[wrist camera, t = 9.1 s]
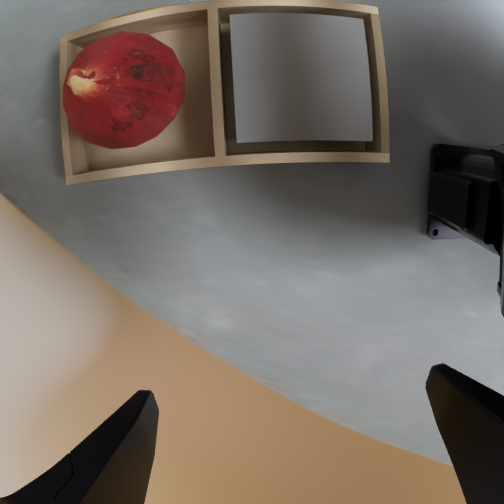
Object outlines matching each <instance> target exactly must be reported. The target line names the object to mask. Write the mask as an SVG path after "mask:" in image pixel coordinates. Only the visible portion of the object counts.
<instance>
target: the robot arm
mask: <svg viewBox="0 0 504 504" xmlns="http://www.w3.org/2000/svg"><path fill="white" fill-rule="evenodd" d="M438 148H439V149H440V153H439V154H438V153H437V149H438ZM490 150H491V151H490ZM490 150H484V149H477V148H470V147H463V146H455V145H446V144H434V145H433V146H432V148H431V174H430V176H429V197H428V224H427V235H428V236H429V237H430V238H432V239H452V238H469V239H471V240H473V241H474V242H476V243H478V244H480V245H481V246H483V247H485V248H486V249H488V250H490V251H491V252H493V253H495V254H497V255H498V256H500V277H499V282H498V288H497V291H498V293H499V295H500V297H501V301H500V304H501V312H502V315H503V317H504V144H501V145H498V146H494V147H490ZM434 229H435V233H434V234H433V233H432V232H433V230H434ZM426 391H427V395H428V398H429V401H430V404H431V407H432V411H433V414H434V417H435V421H436V424H437V426H438V429H439V431H440V434H441V436H442V439H443V441H444V444H445V446H446V448H447V451H448V454H449V456H450V459H451V461H452V464H453V466H454V469H455V472H456V474H457V477H458V480H459V483H460V486H461V488H462V491H463V494H464V497H465V500H466V503H467V504H504V396H503V395H501V394H499V393H498V392H496V391H494V390H492V389H490V388H488V387H486V386H485V385H483V384H481V383H479V382H477V381H475V380H473V379H472V378H470V377H468V376H466V375H464V374H462V373H460V372H459V371H457V370H455V369H453V368H451V367H449V366H447V365H446V364H443V363H441V364H437V365H434V366H432V368H431V370H430V373H429V376H428V379H427V381H426ZM158 417H159V410H158V406H157V403H156V400H155V397H154V394H153V393H152V391H150V390H139V391H137V392H136V393H135V394H134V395H133V396H132V397H131V398H130V399H129V400H127V401H126V402H125V403H124V404H123V405H122V406H121V407H120V408H119V409H117V410H116V411H115V412H114V413H113V414H112V415H111V416H110V417H109V418H107V419H106V420H105V421H104V422H103V423H102V424H101V425H100V426H99V427H97V429H95V430H94V431H93V432H92V433H91V434H90V435H89V436H87V437H86V438H85V439H84V440H83V441H82V442H81V443H80V444H78V445H77V446H76V447H75V448H74V449H73V450H72V451H71V452H70V454H69V453H68V454H67V455H66V456H65V457H63V458H62V459H61V460H60V461H59V462H58V463H56V464H55V465H54V466H53V467H52V468H50V469H49V470H47V471H46V472H45V473H43V474H42V475H40V476H39V477H38V478H36V479H35V480H33V481H32V482H30V483H29V484H27V485H26V486H24V487H23V488H21V489H20V490H18V491H16V492H15V493H13V494H11V495H9V496H6V497H3V498H0V504H144V502H145V497H146V493H147V488H148V483H149V478H150V474H151V469H152V464H153V460H154V455H155V445H156V435H157V426H158Z"/></svg>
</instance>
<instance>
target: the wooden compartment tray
mask: <svg viewBox="0 0 504 504" xmlns="http://www.w3.org/2000/svg"><path fill="white" fill-rule="evenodd" d="M121 31H126V32H136V33H143V34H149V35H151V36H152V37H154V38H156V39H157V40H159V41H161V42H162V43H164V44H165V45H167V46H169V47H170V48H172V49H173V51H174V53H175V54H176V56H177V58H178V60H179V62H180V64H181V66H182V68H183V70H184V73H185V98H184V100H183V102H182V104H181V106H180V108H179V110H178V113H177V115H176V117H175V119H174V120H173V121H172V122H171V123H170V124H169V125H168V126H167V127H166V128H165V129H164V130H163V131H162V132H161V133H160V134H159V135H158V136H157V137H155V138H153V139H151V140H149V141H147V142H145V143H143V144H141V145H138V146H136V147H130V148H121V149H108V148H104V147H101V146H98V145H94V144H91V143H89V142H87V141H86V140H85V139H84V138H83V137H82V136H81V135H80V134H79V133H77V132H76V131H75V130H74V129H73V128H72V126H71V124H70V122H69V119H68V117H67V115H66V112H65V110H64V107H63V85H64V81H65V78H66V75H67V71H68V69H69V67H70V66H71V64H72V63H73V61H74V59H75V58H76V56H77V55H78V54H79V52H80V51H81V50H83V49H84V48H86V47H87V46H89V45H90V44H92V43H93V42H94V41H96V40H97V39H99V38H101V37H105V36H108V35H111V34H114V33H118V32H121ZM59 95H60V122H61V137H62V149H63V159H64V168H65V176H66V184H67V186H68V185H73V184H79V183H85V182H91V181H97V180H104V179H111V178H118V177H125V176H132V175H140V174H148V173H156V172H165V171H174V170H184V169H195V168H206V167H219V166H233V165H249V164H269V163H297V162H381V163H390V136H389V109H388V92H387V78H386V67H385V57H384V48H383V40H382V33H381V26H380V19H379V13H378V7H374V6H368V5H362V4H355V3H347V2H339V1H329V0H218V1H207V2H199V3H191V4H184V5H177V6H171V7H170V5H168V6H163V7H158V8H152V9H148V10H143V11H139V12H134V13H130V14H126V15H122V16H118V17H114V18H111V19H107V20H104V21H100V23H99V24H95V25H92V26H89V27H86V28H83V29H80V30H77V31H74V32H71V33H69V34H66V35H63V36H61V42H60V68H59Z"/></svg>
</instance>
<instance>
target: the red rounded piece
mask: <svg viewBox="0 0 504 504" xmlns="http://www.w3.org/2000/svg"><path fill="white" fill-rule="evenodd" d="M184 98H185V73H184V70H183V68H182V66H181V64H180V62H179V60H178V58H177V56H176V54H175V53H174V51H173V49H172V48H170V47H169V46H167V45H165V44H164V43H162V42H161V41H159V40H157V39H156V38H154V37H152V36H151V35H149V34H143V33H136V32H126V31H121V32H118V33H114V34H111V35H108V36H105V37H101V38H99V39H97V40H96V41H94V42H93V43H92V44H90V45H89V46H87V47H86V48H84V49H83V50H81V51H80V52H79V54H78V55H77V56H76V58H75V59H74V61H73V63H72V64H71V66H70V67H69V69H68V71H67V75H66V78H65V81H64V85H63V107H64V110H65V112H66V115H67V117H68V119H69V122H70V124H71V126H72V128H73V129H74V130H75V131H76V132H77V133H79V134H80V135H81V136H82V137H83V138H84V139H85V140H86V141H87V142H89V143H91V144H94V145H98V146H101V147H104V148H108V149H121V148H130V147H136V146H138V145H141V144H143V143H145V142H147V141H149V140H151V139H153V138H155V137H157V136H158V135H159V134H160V133H161V132H162V131H163V130H164V129H165V128H166V127H167V126H168V125H169V124H170V123H171V122H172V121H173V120H174V119H175V117H176V115H177V113H178V110H179V108H180V106H181V104H182V102H183V100H184Z"/></svg>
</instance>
